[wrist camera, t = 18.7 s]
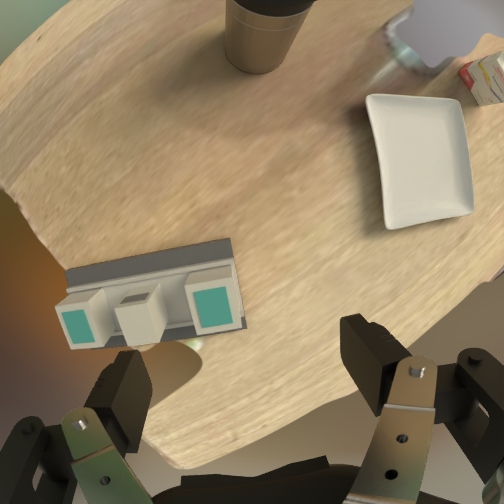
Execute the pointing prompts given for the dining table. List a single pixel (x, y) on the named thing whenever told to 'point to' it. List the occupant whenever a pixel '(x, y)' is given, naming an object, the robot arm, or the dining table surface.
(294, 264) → the dining table surface
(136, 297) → the loose module
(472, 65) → the ink cartridge box
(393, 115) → the salad plate
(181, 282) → the board
